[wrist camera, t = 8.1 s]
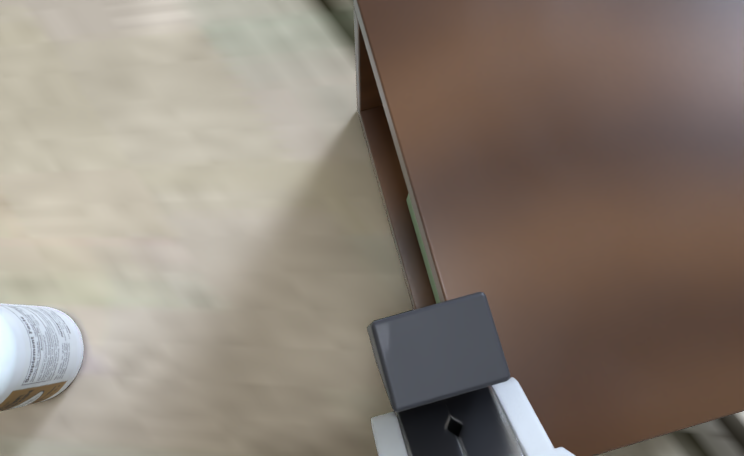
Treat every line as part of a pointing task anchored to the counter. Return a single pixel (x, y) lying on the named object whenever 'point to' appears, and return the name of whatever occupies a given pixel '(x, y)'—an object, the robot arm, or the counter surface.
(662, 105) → the cupboard
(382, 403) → the counter surface
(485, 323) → the sliding door
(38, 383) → the pill bottle
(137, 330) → the counter surface
